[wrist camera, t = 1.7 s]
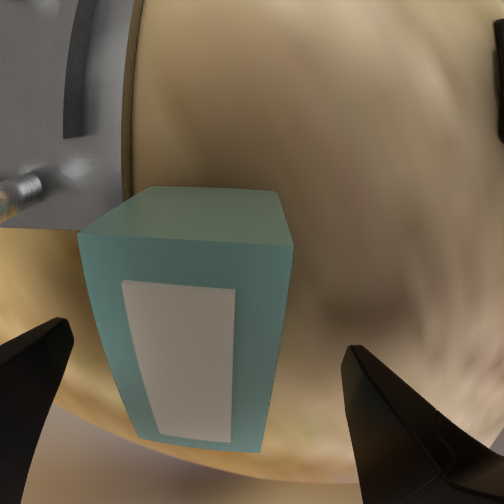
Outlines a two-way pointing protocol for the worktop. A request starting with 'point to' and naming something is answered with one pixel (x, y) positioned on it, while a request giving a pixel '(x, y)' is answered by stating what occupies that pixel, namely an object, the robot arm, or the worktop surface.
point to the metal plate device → (65, 110)
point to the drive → (192, 309)
